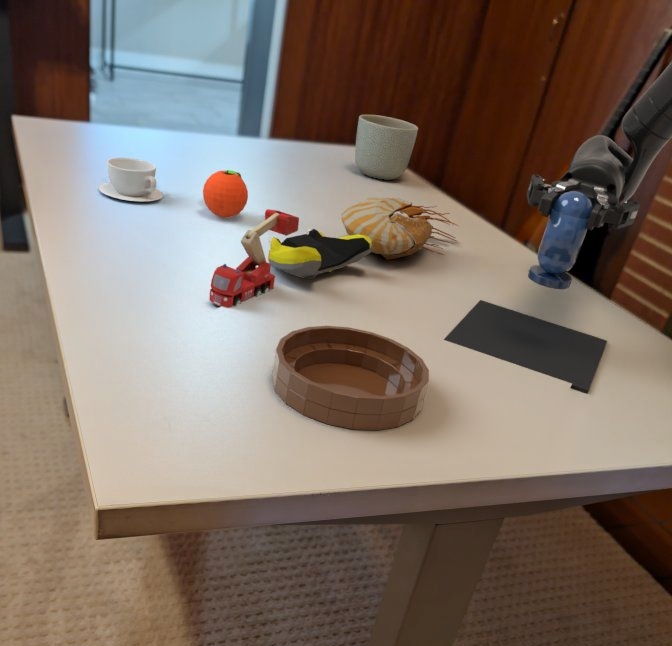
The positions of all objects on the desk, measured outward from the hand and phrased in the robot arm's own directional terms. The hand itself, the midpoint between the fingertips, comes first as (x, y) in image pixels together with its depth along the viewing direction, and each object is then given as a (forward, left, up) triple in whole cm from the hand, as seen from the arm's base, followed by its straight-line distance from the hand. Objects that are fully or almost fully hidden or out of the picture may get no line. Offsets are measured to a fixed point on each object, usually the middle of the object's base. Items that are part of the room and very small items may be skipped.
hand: (569, 213), depth 85 cm
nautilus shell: (+25, -22, -17) cm, 37 cm away
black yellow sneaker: (+31, -3, -17) cm, 36 cm away
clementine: (+52, -14, -17) cm, 56 cm away
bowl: (+13, +26, -17) cm, 34 cm away
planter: (+47, -67, -17) cm, 84 cm away
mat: (0, -3, -17) cm, 17 cm away
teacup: (+67, -10, -17) cm, 70 cm away
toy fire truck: (+33, +11, -17) cm, 39 cm away
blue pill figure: (0, -3, -9) cm, 9 cm away
